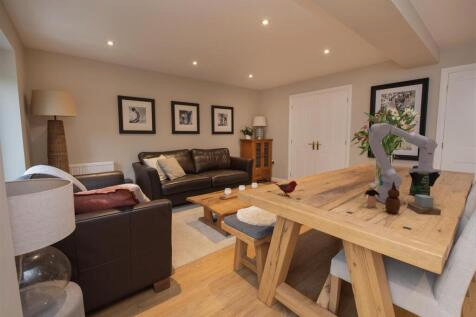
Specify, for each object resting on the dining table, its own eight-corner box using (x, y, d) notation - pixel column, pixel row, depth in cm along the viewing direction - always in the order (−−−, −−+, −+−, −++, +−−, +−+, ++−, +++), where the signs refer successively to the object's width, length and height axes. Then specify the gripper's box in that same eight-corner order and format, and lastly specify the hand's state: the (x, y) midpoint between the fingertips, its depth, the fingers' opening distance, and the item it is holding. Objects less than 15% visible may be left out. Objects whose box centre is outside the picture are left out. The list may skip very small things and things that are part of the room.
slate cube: (421, 207, 104) (422, 197, 103) (414, 204, 109) (415, 194, 108) (432, 208, 103) (433, 197, 103) (424, 204, 108) (425, 194, 108)
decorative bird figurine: (295, 198, 125) (296, 181, 124) (271, 192, 139) (272, 177, 137) (298, 197, 127) (299, 181, 126) (274, 191, 140) (275, 176, 139)
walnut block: (418, 214, 103) (419, 208, 102) (407, 208, 112) (407, 202, 111) (440, 216, 101) (441, 209, 101) (426, 209, 110) (427, 203, 110)
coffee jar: (415, 197, 130) (418, 166, 128) (406, 193, 138) (409, 164, 136) (433, 197, 129) (436, 166, 127) (422, 193, 137) (426, 164, 135)
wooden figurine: (385, 209, 109) (388, 179, 107) (399, 211, 105) (402, 181, 104) (383, 212, 104) (386, 181, 102) (398, 215, 100) (401, 183, 99)
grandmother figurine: (375, 206, 114) (377, 182, 112) (380, 208, 110) (382, 183, 108) (360, 206, 113) (362, 182, 112) (365, 208, 110) (367, 183, 108)
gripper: (415, 161, 114) (413, 187, 115) (446, 162, 112) (443, 188, 113) (407, 160, 120) (404, 184, 122) (436, 160, 119) (433, 185, 120)
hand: (422, 186), depth 118 cm, fingers open, 7 cm apart
